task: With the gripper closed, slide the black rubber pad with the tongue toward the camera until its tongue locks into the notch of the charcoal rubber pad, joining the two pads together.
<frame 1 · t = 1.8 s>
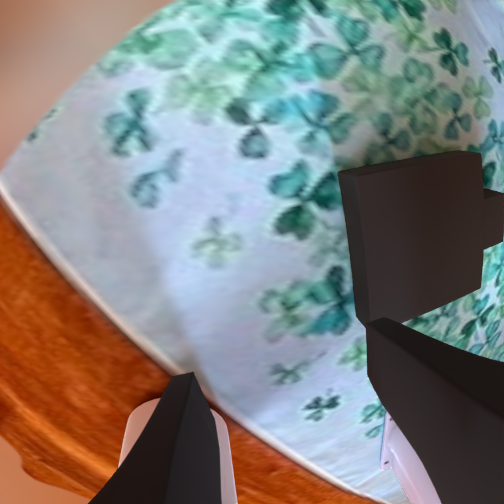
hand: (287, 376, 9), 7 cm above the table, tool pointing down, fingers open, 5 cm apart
can: (177, 425, 18), on the table
tab pad: (412, 231, 16), on the table
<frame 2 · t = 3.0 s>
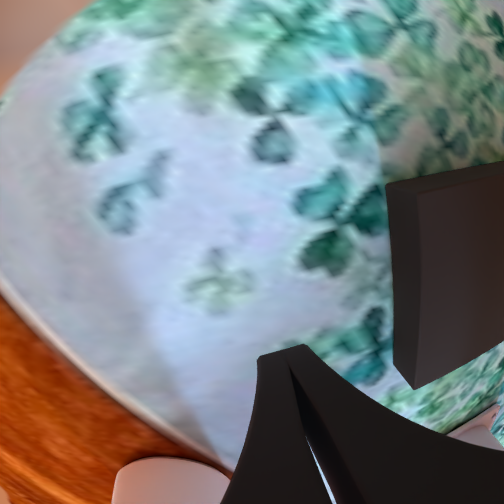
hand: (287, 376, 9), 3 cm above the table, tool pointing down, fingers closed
can: (174, 480, 14), on the table
tab pad: (465, 259, 12), on the table
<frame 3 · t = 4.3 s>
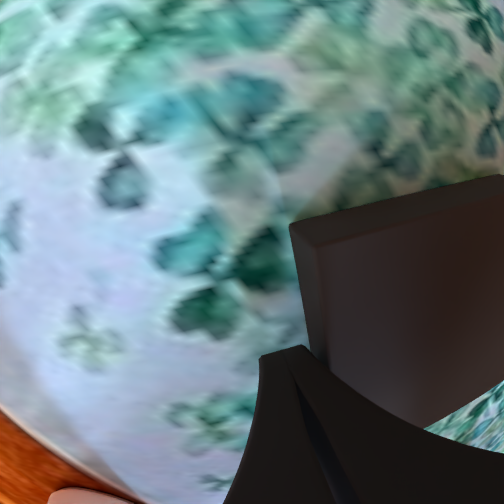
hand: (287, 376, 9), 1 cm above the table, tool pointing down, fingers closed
tab pad: (420, 309, 10), on the table, touching gripper
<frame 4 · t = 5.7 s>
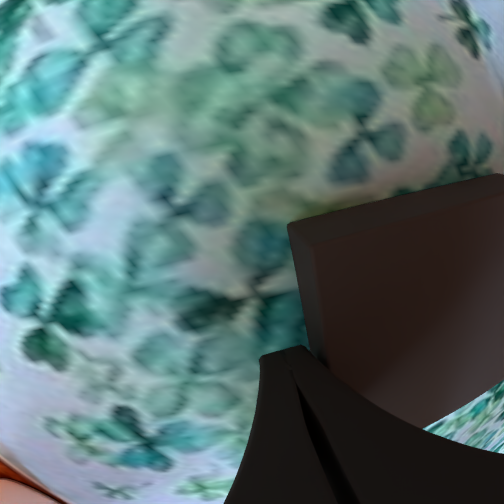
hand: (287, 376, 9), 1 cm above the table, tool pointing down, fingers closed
can: (36, 501, 12), on the table
tab pad: (419, 309, 10), on the table, touching gripper
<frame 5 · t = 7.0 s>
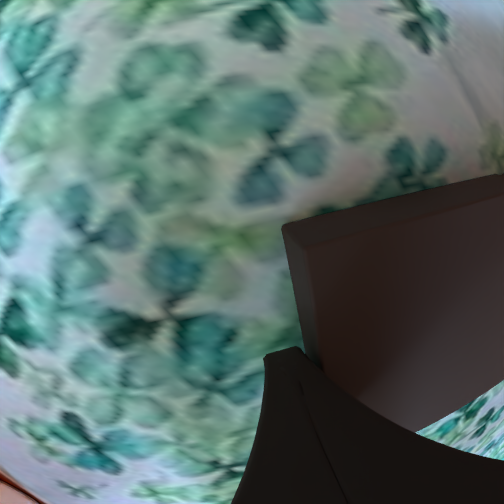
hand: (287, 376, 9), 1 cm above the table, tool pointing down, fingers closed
can: (14, 497, 12), on the table
tab pad: (416, 311, 10), on the table, touching gripper, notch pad
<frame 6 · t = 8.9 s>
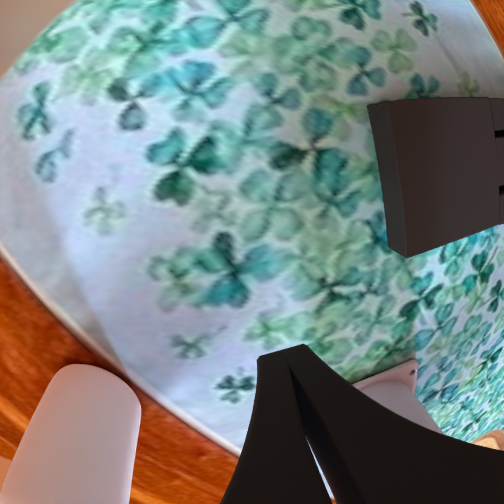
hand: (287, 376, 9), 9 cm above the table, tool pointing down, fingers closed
can: (97, 395, 18), on the table
tab pad: (434, 167, 16), on the table
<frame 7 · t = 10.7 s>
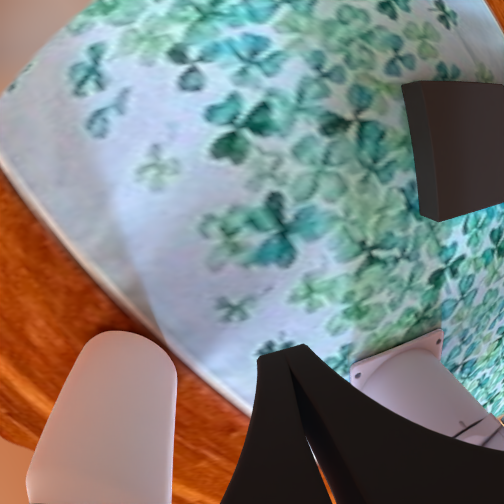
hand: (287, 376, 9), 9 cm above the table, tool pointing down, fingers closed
can: (129, 367, 19), on the table
tab pad: (457, 144, 17), on the table
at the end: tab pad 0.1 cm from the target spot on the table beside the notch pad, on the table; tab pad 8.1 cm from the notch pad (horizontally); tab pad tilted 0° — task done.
